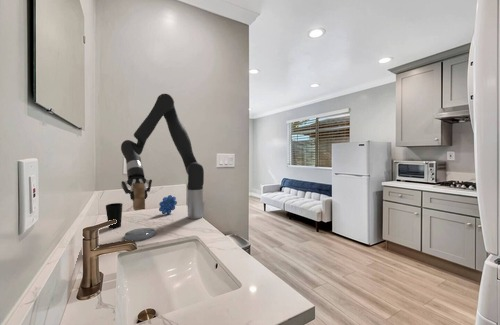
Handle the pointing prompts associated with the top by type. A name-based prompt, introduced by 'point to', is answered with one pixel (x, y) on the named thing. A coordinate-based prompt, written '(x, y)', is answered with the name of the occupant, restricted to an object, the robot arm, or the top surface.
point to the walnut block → (139, 196)
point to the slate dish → (140, 234)
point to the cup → (114, 214)
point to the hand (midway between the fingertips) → (139, 198)
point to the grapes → (167, 204)
